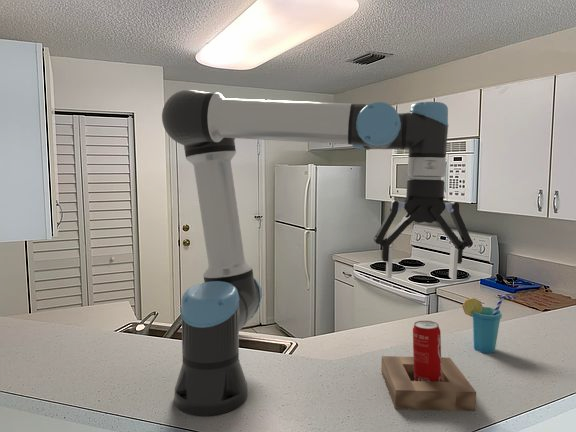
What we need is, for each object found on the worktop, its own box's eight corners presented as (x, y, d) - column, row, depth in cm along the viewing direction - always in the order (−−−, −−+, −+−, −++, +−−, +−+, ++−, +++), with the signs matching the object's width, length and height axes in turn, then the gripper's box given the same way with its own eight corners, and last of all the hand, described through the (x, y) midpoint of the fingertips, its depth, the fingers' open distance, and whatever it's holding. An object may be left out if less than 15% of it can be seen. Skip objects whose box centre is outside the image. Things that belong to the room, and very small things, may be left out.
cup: (503, 342, 123) (506, 290, 121) (520, 354, 115) (524, 298, 114) (455, 344, 121) (458, 291, 120) (469, 356, 114) (472, 300, 112)
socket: (395, 408, 89) (395, 390, 88) (381, 372, 105) (381, 356, 104) (475, 411, 88) (476, 392, 88) (449, 373, 104) (449, 357, 104)
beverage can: (443, 398, 93) (446, 330, 91) (411, 395, 94) (414, 327, 92) (439, 384, 99) (442, 320, 97) (409, 382, 100) (412, 318, 98)
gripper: (368, 177, 89) (364, 280, 91) (493, 180, 88) (486, 283, 90) (363, 176, 96) (360, 271, 99) (479, 179, 95) (472, 274, 98)
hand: (420, 277), depth 94 cm, fingers open, 13 cm apart
